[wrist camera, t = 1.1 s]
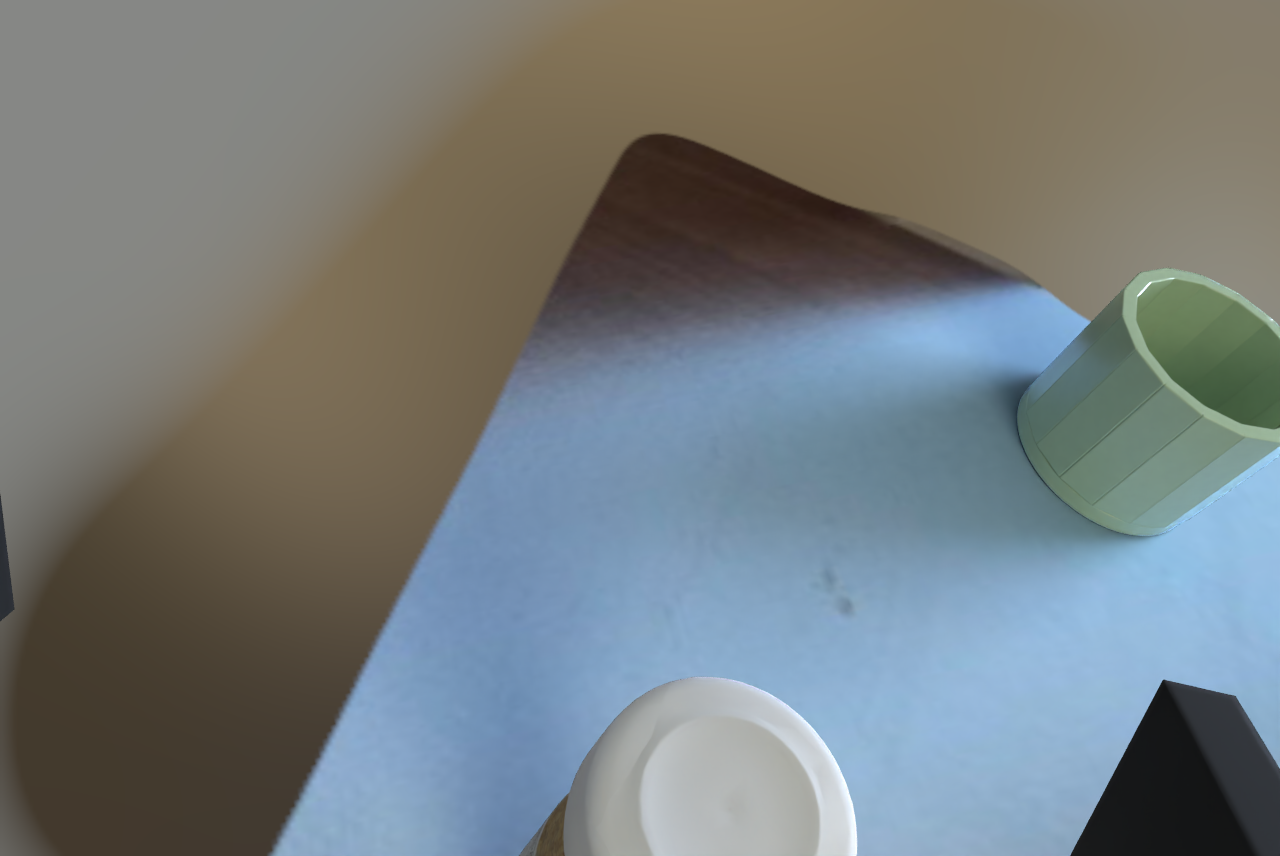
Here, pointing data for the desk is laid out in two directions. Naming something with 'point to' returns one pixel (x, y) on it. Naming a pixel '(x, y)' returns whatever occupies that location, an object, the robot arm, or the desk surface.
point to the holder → (1157, 404)
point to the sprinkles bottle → (704, 781)
